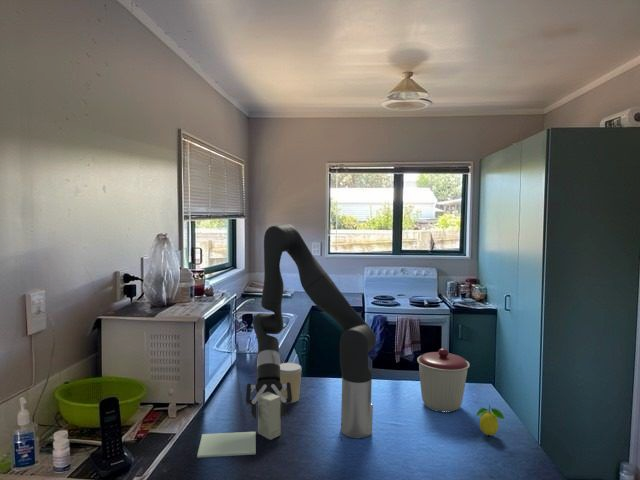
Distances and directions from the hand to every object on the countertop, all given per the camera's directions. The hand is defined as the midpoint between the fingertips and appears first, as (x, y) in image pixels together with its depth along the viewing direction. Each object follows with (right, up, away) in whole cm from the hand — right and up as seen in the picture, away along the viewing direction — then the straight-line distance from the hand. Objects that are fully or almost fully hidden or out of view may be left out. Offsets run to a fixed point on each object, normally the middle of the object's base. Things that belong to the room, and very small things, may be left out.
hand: (269, 417), depth 134 cm
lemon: (+68, -7, +3) cm, 69 cm away
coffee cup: (+4, -5, +28) cm, 29 cm away
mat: (-11, -6, -5) cm, 14 cm away
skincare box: (0, -6, +1) cm, 6 cm away
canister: (+59, -6, +24) cm, 64 cm away
